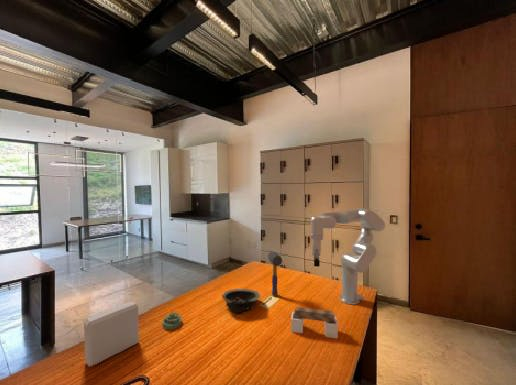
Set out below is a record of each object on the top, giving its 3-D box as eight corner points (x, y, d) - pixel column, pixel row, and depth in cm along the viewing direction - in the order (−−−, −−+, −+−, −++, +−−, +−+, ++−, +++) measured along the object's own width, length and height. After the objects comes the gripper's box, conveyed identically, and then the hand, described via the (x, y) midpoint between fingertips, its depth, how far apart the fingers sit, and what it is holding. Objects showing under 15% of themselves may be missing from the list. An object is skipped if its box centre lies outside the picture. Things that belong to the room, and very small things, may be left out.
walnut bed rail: (333, 324, 124) (333, 311, 124) (333, 328, 120) (334, 314, 120) (295, 319, 128) (295, 306, 128) (294, 322, 125) (294, 310, 125)
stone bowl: (228, 320, 134) (228, 304, 134) (217, 303, 156) (217, 289, 157) (267, 310, 144) (266, 295, 144) (251, 295, 166) (251, 282, 167)
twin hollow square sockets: (336, 330, 125) (336, 317, 125) (337, 338, 119) (337, 325, 118) (292, 324, 131) (292, 311, 130) (291, 331, 124) (291, 318, 124)
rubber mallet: (282, 299, 159) (283, 255, 157) (272, 300, 157) (272, 256, 155) (276, 290, 171) (277, 250, 169) (267, 291, 169) (267, 250, 167)
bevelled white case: (133, 336, 120) (132, 298, 119) (140, 343, 115) (139, 303, 114) (83, 361, 104) (82, 317, 103) (89, 370, 99) (87, 324, 98)
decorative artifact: (164, 320, 135) (160, 331, 125) (164, 308, 134) (160, 318, 125) (182, 318, 136) (180, 329, 127) (182, 306, 136) (179, 316, 126)
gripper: (310, 233, 155) (310, 258, 156) (310, 239, 138) (310, 268, 139) (322, 233, 153) (322, 259, 154) (323, 240, 136) (323, 269, 137)
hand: (316, 263), depth 146 cm, fingers open, 9 cm apart
